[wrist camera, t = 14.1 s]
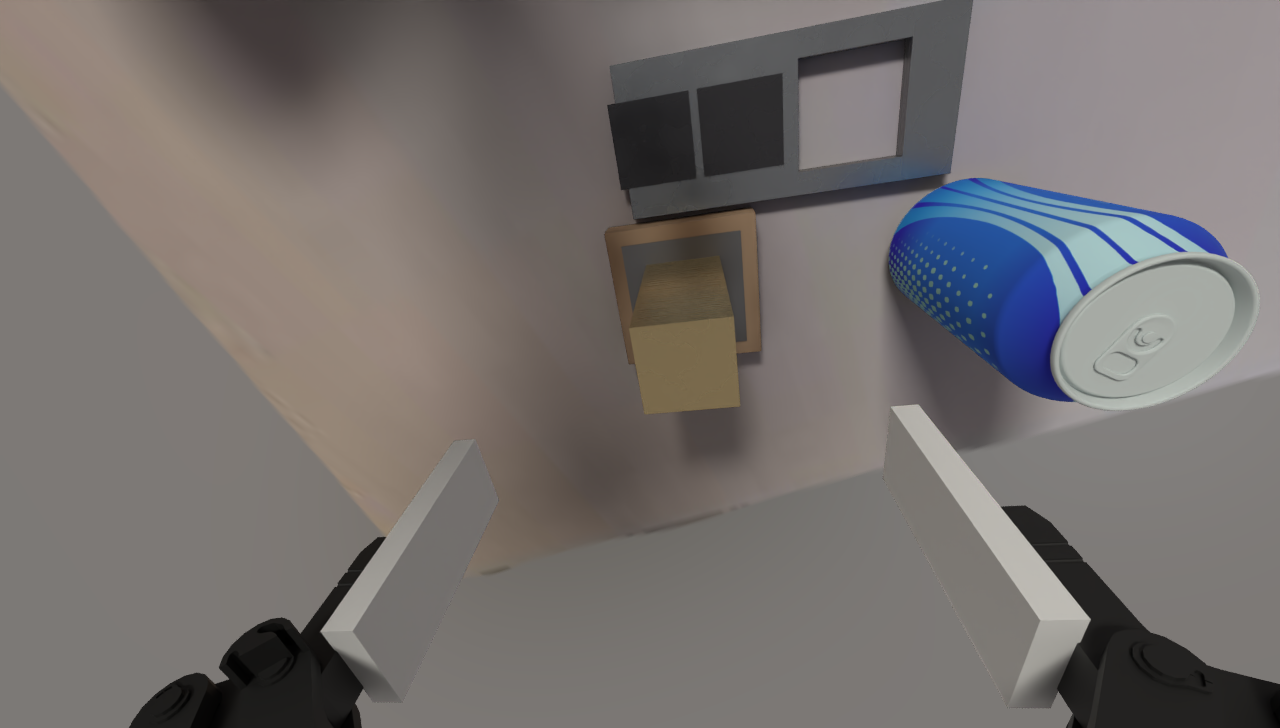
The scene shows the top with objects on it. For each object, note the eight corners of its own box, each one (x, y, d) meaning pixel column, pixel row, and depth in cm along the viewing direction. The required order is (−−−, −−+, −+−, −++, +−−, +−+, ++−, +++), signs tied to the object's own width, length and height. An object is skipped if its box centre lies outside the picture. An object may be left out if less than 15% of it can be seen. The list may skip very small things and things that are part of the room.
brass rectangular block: (656, 331, 35) (644, 414, 25) (646, 265, 32) (629, 328, 23) (724, 323, 34) (740, 406, 24) (719, 255, 32) (733, 316, 22)
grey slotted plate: (628, 217, 33) (626, 220, 32) (603, 69, 29) (601, 67, 28) (942, 171, 30) (951, 173, 29) (964, -2, 26) (974, -7, 25)
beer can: (865, 214, 32) (1010, 292, 17) (1002, 150, 29) (1299, 179, 15) (899, 318, 35) (1045, 455, 21) (1025, 268, 32) (1290, 384, 18)
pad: (631, 352, 38) (628, 364, 36) (608, 227, 34) (604, 234, 32) (757, 339, 36) (761, 351, 35) (751, 207, 32) (755, 212, 30)
